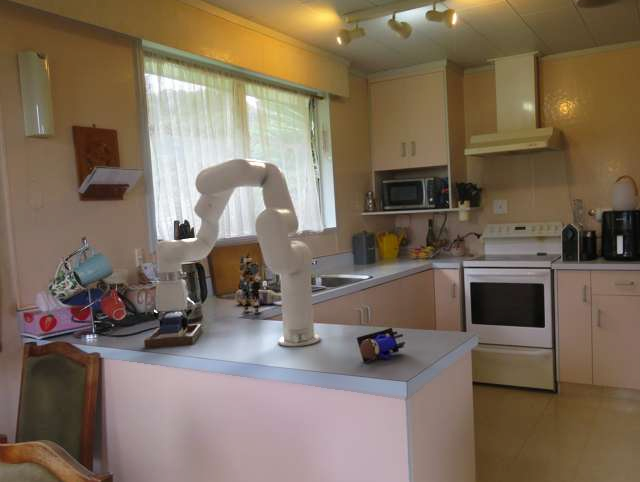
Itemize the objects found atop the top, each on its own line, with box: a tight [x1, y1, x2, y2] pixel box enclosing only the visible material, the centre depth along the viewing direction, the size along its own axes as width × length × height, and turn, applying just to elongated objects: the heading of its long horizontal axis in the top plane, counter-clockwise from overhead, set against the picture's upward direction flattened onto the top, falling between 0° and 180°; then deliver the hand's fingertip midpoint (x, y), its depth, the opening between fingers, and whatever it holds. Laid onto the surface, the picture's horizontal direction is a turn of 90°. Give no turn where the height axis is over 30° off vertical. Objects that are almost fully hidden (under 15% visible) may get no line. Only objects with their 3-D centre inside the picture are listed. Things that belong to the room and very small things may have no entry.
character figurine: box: [356, 327, 406, 363], centre depth 144 cm, size 8×7×15 cm
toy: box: [237, 253, 263, 316], centre depth 222 cm, size 14×9×25 cm, turn 47°
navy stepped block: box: [159, 312, 187, 338], centre depth 180 cm, size 6×14×6 cm, turn 10°
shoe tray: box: [143, 323, 203, 350], centre depth 181 cm, size 20×15×3 cm
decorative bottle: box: [234, 289, 281, 306], centre depth 245 cm, size 26×8×7 cm, turn 68°
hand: (174, 329), depth 182 cm, fingers closed on navy stepped block, 6 cm apart
